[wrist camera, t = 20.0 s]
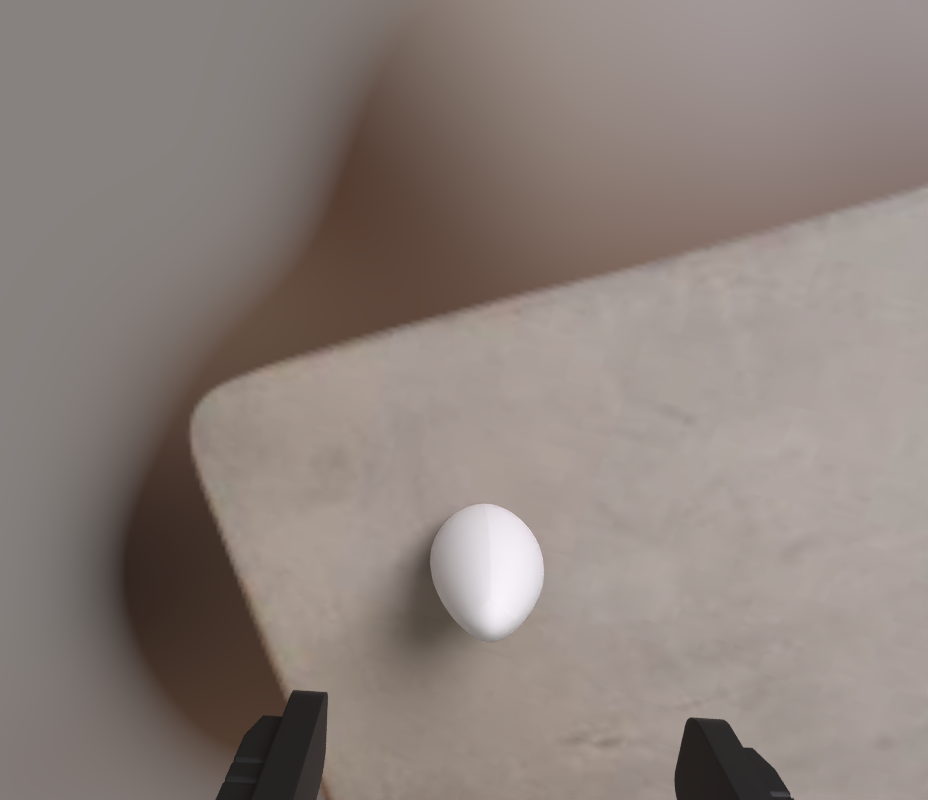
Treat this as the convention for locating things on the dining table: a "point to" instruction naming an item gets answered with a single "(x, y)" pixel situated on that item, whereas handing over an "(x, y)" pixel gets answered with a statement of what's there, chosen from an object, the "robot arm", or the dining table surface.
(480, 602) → the egg
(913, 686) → the dining table surface
